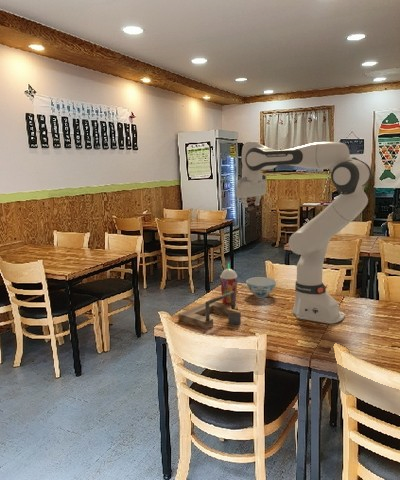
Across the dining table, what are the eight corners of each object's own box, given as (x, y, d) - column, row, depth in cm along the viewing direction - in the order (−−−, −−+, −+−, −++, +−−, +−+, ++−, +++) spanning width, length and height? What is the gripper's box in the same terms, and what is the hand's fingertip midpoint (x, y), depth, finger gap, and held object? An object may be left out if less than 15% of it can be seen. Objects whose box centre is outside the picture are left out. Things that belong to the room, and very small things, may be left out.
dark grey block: (243, 322, 174) (243, 310, 173) (236, 326, 171) (236, 313, 170) (233, 319, 178) (233, 307, 177) (226, 323, 174) (226, 310, 173)
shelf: (237, 313, 184) (237, 290, 182) (206, 329, 168) (205, 303, 166) (211, 306, 195) (210, 283, 193) (178, 320, 179) (177, 295, 176)
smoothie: (240, 301, 201) (239, 262, 197) (234, 306, 193) (233, 266, 189) (224, 299, 204) (223, 260, 200) (218, 304, 197) (217, 264, 193)
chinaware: (280, 293, 211) (280, 279, 209) (269, 302, 198) (269, 287, 197) (253, 289, 219) (253, 275, 217) (241, 297, 206) (241, 283, 205)
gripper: (243, 177, 182) (243, 208, 184) (268, 176, 197) (268, 204, 199) (232, 178, 186) (232, 208, 189) (257, 176, 201) (257, 204, 204)
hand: (251, 206), depth 194 cm, fingers open, 8 cm apart
